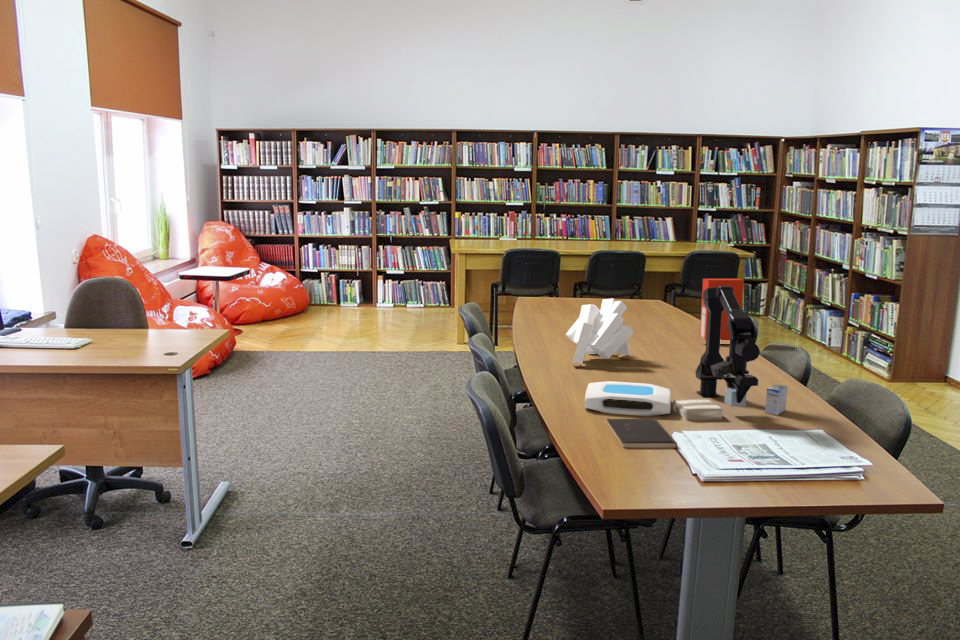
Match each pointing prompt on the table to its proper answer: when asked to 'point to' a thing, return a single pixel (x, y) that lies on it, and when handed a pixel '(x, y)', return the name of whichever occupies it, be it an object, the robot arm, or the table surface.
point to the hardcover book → (641, 433)
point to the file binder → (738, 293)
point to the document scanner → (628, 397)
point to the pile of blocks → (600, 331)
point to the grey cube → (733, 398)
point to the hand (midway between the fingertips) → (735, 400)
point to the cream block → (697, 409)
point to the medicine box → (776, 399)
